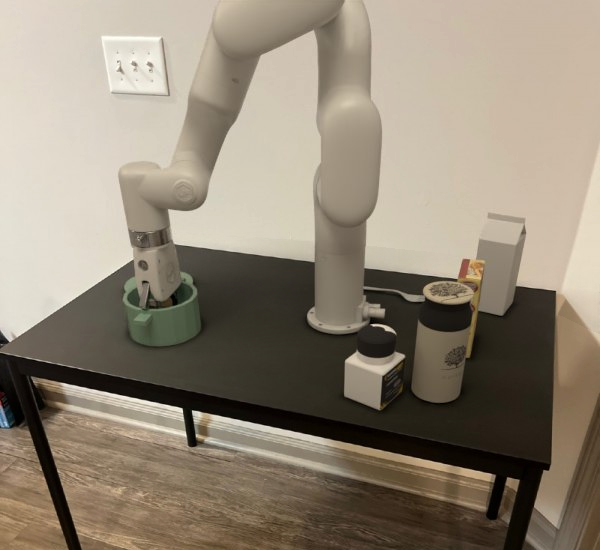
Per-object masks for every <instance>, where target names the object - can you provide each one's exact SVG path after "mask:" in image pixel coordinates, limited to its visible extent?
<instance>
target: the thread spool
mask: <svg viewBox="0 0 600 550" xmlns="http://www.w3.org/2000/svg"><path fill="white" fill-rule="evenodd" d="M172 304H173V303H172V299H171V298H170V297H169V298H168V299H167V300H166V301H164V302H161V309H162V308H169V307H173V306H172ZM150 305H151V306H154V307H155V308H156V302H150Z"/></svg>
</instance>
